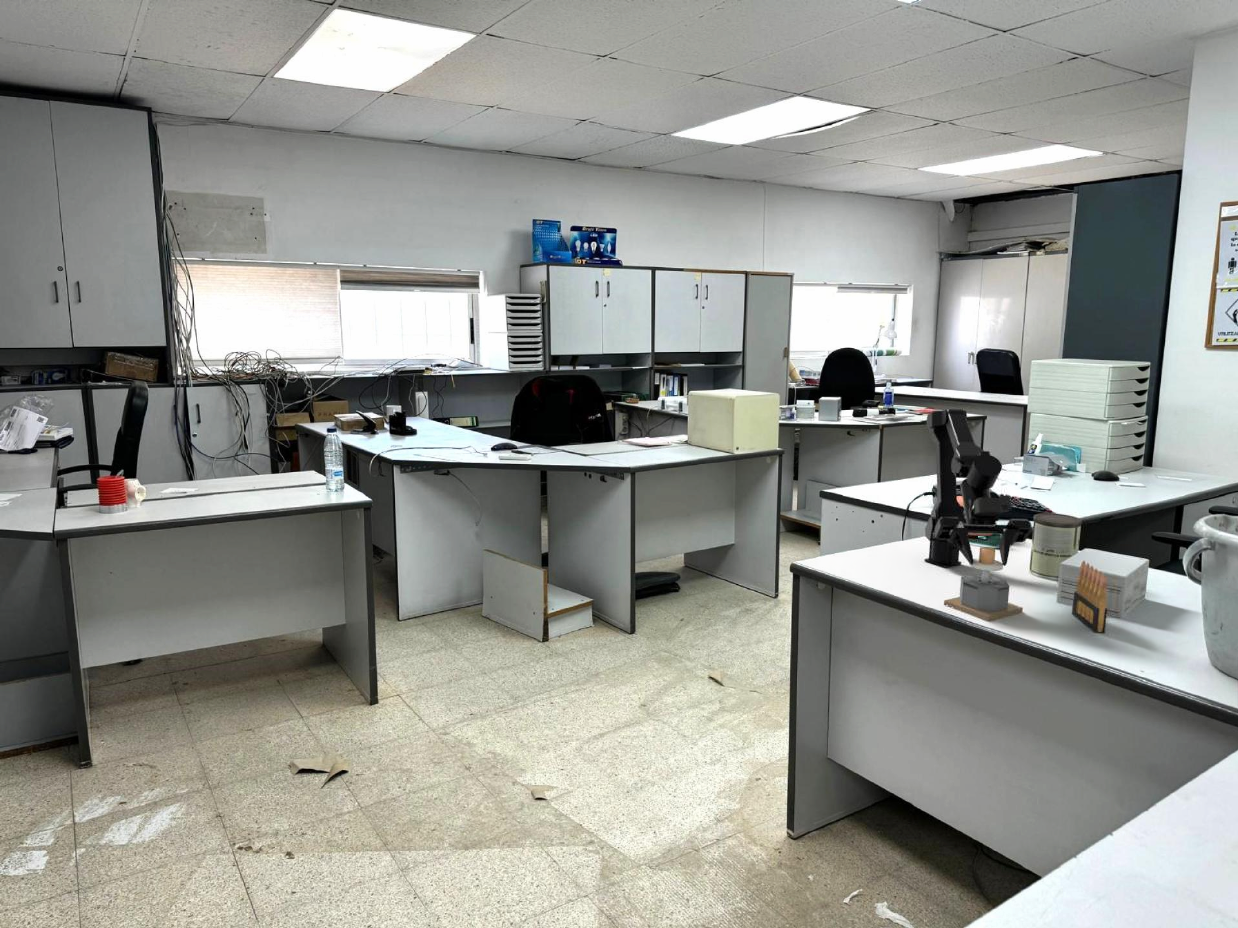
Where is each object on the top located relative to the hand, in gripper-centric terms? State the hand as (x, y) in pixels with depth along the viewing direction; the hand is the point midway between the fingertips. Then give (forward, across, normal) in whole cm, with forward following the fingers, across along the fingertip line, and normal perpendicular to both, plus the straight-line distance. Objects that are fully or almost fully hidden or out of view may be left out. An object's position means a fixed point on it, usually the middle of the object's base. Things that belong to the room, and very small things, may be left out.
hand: (988, 564), depth 173 cm
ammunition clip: (+11, +19, +4) cm, 22 cm away
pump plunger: (+3, 0, +5) cm, 6 cm away
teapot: (-39, +15, +54) cm, 68 cm away
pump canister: (+6, 0, +8) cm, 10 cm away
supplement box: (0, +27, +15) cm, 31 cm away
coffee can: (-13, +24, +28) cm, 39 cm away
